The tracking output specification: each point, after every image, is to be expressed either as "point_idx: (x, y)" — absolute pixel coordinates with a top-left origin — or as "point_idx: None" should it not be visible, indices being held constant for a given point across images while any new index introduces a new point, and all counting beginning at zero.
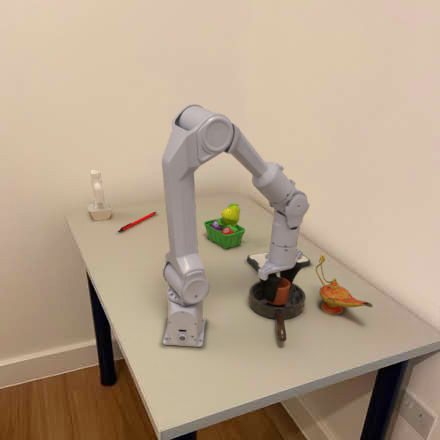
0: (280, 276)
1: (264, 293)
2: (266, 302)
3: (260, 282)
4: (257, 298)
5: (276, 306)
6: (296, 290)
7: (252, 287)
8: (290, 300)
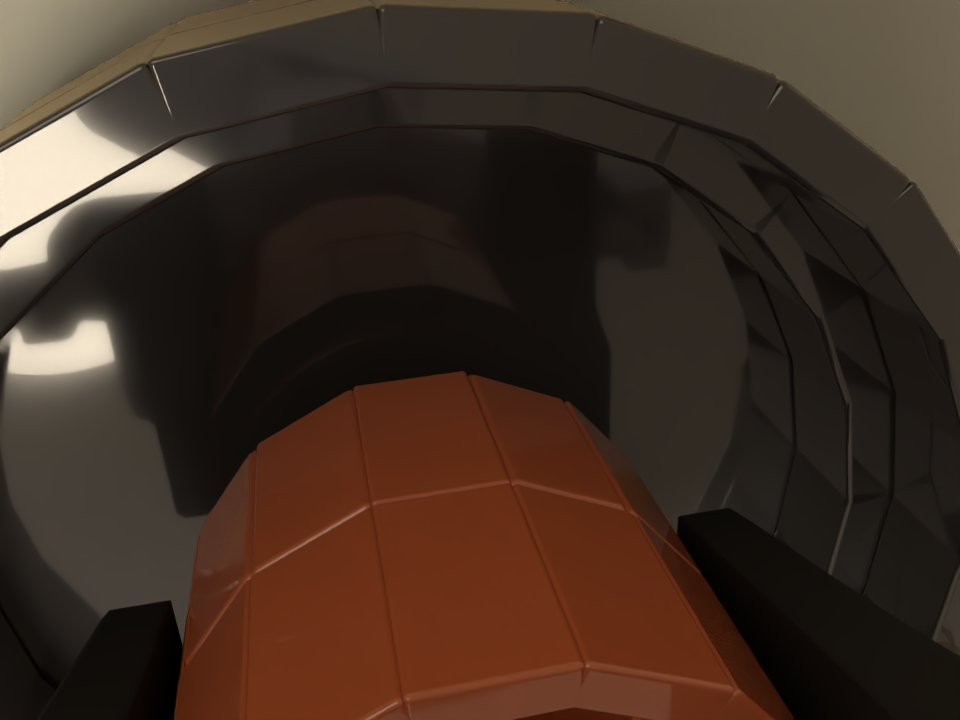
0: (866, 716)
1: (45, 716)
2: (280, 417)
3: (549, 91)
4: (233, 212)
5: None
6: None
7: (115, 145)
8: None
